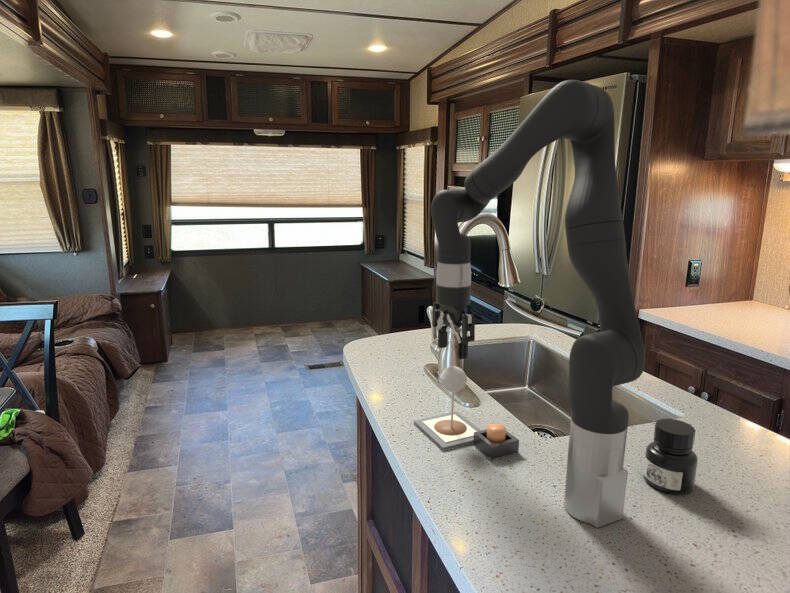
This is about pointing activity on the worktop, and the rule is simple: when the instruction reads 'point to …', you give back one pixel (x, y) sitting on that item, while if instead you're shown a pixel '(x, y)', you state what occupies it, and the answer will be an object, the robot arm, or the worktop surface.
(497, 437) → the button
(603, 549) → the worktop surface
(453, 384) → the lollipop
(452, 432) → the board
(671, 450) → the ink bottle
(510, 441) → the button housing
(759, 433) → the worktop surface
